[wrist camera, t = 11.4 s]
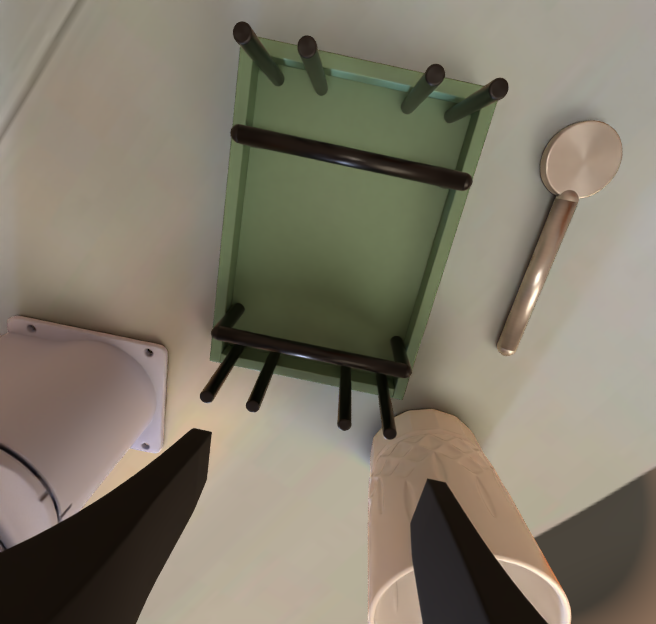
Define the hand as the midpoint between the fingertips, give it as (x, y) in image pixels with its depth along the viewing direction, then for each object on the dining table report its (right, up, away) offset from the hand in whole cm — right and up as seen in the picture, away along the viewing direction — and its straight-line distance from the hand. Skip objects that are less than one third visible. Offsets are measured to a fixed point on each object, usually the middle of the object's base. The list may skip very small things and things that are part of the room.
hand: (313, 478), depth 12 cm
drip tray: (+1, +9, +8) cm, 12 cm away
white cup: (+7, -3, +12) cm, 14 cm away
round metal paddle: (+12, +9, +7) cm, 16 cm away
